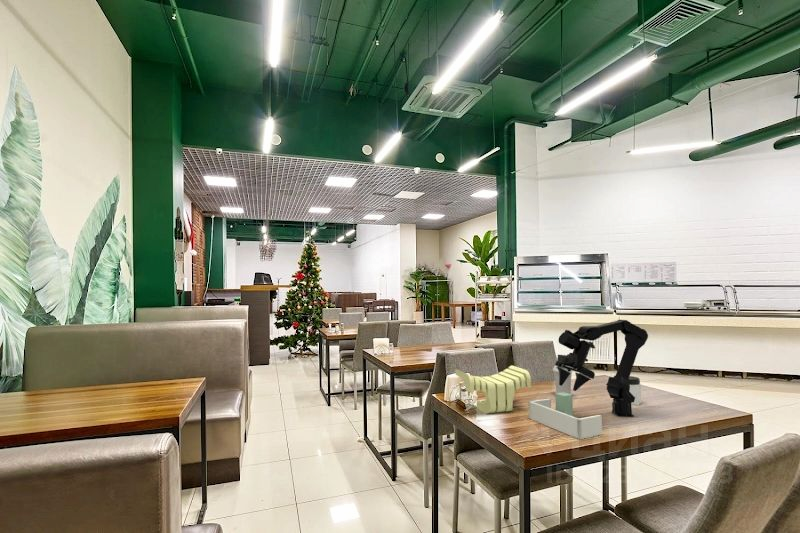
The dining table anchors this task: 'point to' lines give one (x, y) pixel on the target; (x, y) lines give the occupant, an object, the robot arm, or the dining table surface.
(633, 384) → the jar
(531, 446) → the dining table surface
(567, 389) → the coffee cup
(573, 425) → the cream u-shaped wall
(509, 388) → the slatted curved stool
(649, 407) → the dining table surface
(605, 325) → the robot arm
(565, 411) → the block
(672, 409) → the dining table surface
